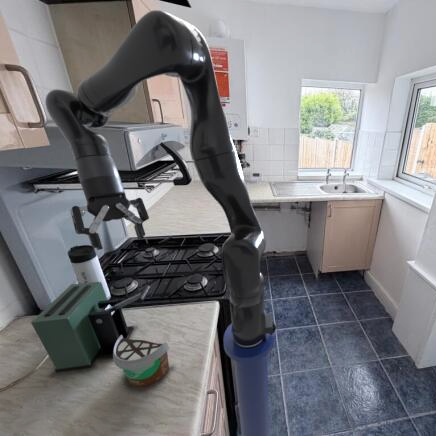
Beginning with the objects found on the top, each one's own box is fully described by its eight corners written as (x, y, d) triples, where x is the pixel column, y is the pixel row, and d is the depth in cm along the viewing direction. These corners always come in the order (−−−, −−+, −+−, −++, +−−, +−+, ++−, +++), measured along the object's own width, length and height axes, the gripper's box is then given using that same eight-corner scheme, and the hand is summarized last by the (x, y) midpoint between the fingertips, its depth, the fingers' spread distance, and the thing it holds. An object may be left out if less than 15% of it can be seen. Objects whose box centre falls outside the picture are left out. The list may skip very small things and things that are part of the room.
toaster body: (117, 324, 70) (102, 280, 63) (90, 368, 57) (67, 318, 51) (89, 327, 68) (70, 282, 62) (55, 372, 56) (28, 322, 50)
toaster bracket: (134, 328, 68) (122, 293, 64) (118, 356, 60) (104, 319, 55) (115, 330, 68) (102, 295, 63) (97, 359, 59) (80, 322, 55)
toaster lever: (153, 289, 62) (147, 283, 61) (145, 302, 58) (139, 296, 57) (109, 310, 62) (102, 304, 61) (98, 325, 58) (91, 319, 57)
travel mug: (102, 291, 82) (84, 242, 75) (115, 296, 80) (98, 245, 73) (82, 303, 77) (60, 251, 69) (96, 308, 75) (75, 255, 67)
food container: (108, 388, 53) (95, 358, 49) (129, 363, 59) (119, 334, 55) (158, 397, 52) (148, 367, 48) (175, 370, 57) (167, 341, 53)
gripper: (62, 176, 47) (87, 252, 48) (139, 172, 58) (158, 234, 59) (57, 186, 52) (80, 254, 53) (129, 180, 63) (147, 237, 64)
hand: (121, 243), depth 56 cm, fingers open, 8 cm apart
